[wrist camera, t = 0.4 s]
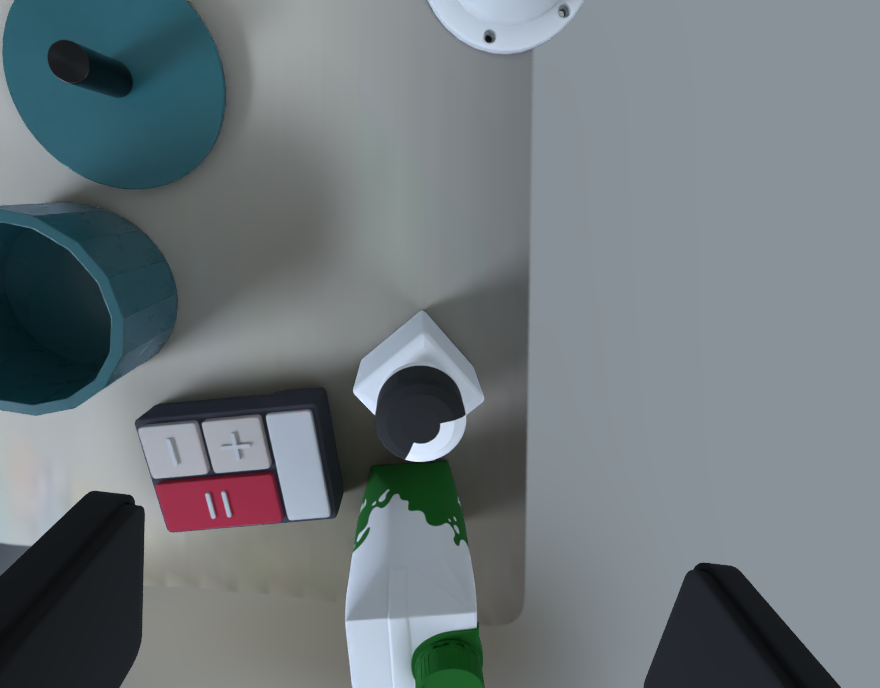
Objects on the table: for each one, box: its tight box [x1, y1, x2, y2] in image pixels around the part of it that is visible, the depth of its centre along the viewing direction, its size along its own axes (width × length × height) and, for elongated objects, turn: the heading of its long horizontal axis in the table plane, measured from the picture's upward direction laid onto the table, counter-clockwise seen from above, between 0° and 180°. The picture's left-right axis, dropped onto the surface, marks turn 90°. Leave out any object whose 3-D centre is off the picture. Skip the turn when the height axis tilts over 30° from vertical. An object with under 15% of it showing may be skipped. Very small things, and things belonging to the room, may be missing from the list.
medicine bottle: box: [353, 311, 484, 462], centre depth 39 cm, size 7×7×12 cm
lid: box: [2, 0, 226, 189], centre depth 34 cm, size 15×15×6 cm
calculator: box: [135, 388, 344, 532], centre depth 44 cm, size 11×4×15 cm
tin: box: [0, 202, 178, 415], centre depth 37 cm, size 14×14×8 cm
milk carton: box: [345, 461, 485, 688], centre depth 39 cm, size 9×9×20 cm
